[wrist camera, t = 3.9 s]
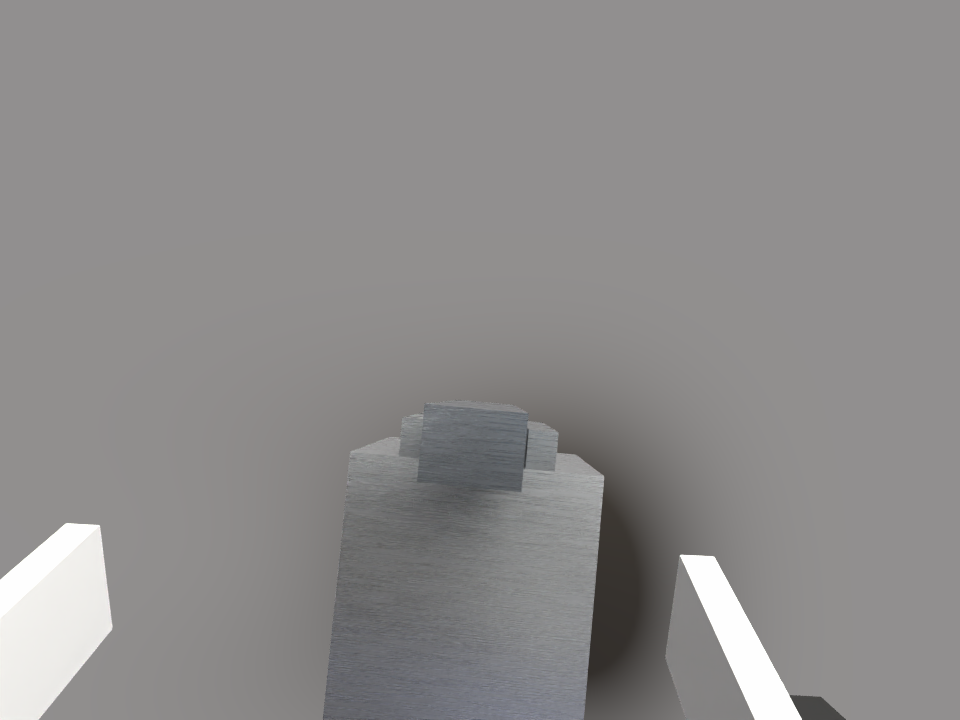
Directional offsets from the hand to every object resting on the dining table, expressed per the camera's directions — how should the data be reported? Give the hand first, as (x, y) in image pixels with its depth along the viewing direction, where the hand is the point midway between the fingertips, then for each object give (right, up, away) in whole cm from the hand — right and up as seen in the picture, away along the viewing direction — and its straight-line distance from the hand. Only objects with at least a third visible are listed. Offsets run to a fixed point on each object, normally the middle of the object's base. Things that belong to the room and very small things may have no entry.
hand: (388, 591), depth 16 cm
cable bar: (+2, 0, +23) cm, 23 cm away
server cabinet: (-1, -30, +25) cm, 39 cm away
